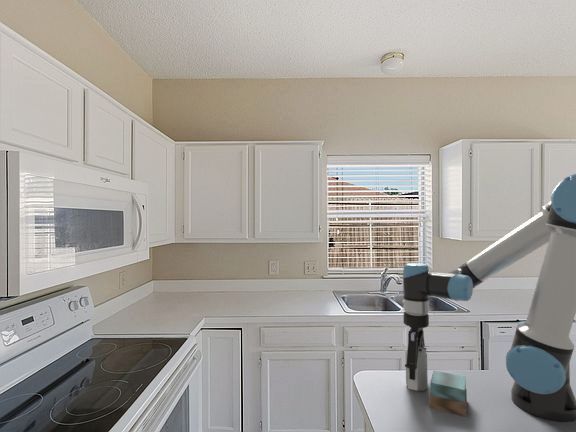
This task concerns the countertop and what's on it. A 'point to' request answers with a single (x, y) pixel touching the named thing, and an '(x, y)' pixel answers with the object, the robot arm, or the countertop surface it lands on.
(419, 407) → the countertop surface
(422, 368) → the beverage can
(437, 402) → the teal and brown block
